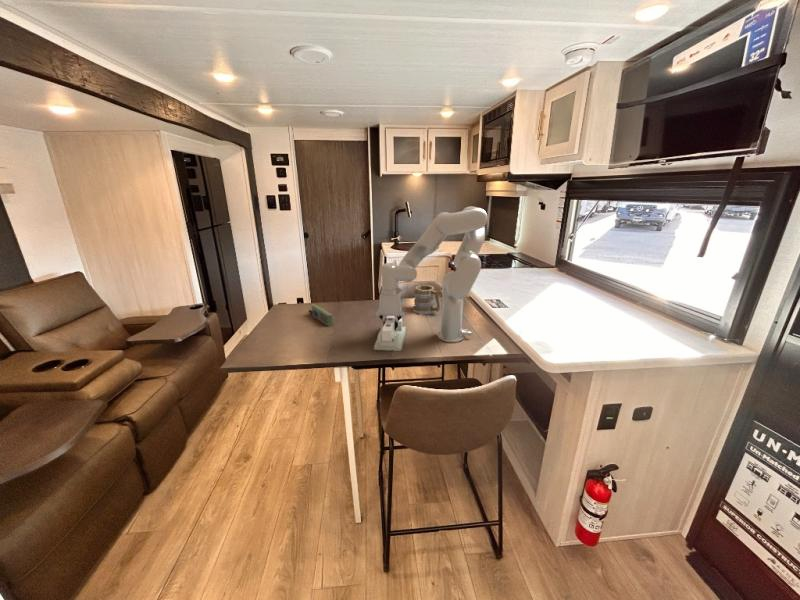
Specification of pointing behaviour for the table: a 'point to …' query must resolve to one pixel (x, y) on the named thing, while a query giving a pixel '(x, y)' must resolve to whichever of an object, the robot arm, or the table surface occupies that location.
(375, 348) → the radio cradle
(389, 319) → the power strip
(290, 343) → the table surface
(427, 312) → the tankard
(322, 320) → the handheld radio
